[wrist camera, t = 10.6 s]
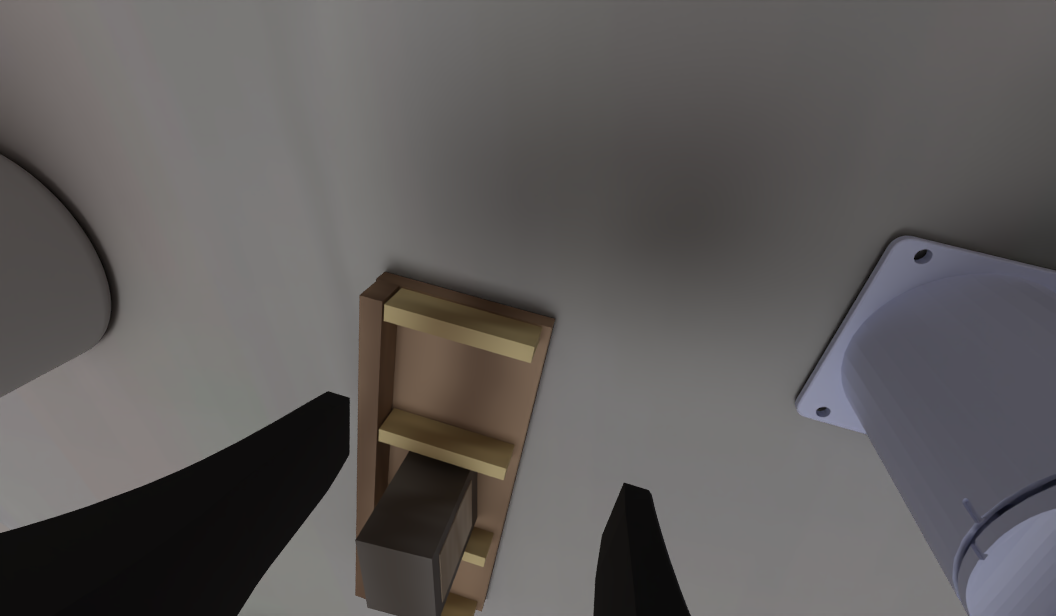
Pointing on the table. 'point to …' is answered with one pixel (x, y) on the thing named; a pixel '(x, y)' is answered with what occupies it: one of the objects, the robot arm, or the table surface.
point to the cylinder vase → (44, 282)
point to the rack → (446, 404)
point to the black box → (417, 537)
